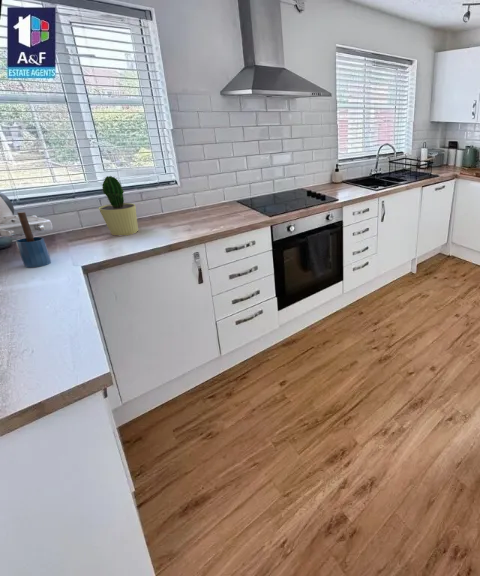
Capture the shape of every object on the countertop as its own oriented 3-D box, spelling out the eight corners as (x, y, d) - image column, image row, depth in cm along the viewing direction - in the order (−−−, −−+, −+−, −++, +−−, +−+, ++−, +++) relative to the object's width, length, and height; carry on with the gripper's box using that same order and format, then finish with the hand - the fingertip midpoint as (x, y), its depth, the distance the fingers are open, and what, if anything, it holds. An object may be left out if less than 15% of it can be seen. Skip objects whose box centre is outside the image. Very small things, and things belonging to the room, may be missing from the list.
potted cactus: (105, 234, 191) (86, 174, 178) (139, 228, 200) (123, 171, 187) (109, 241, 181) (89, 178, 168) (145, 235, 190) (129, 175, 177)
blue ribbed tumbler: (22, 268, 141) (13, 243, 138) (26, 262, 148) (18, 238, 144) (49, 265, 145) (41, 241, 142) (52, 260, 152) (45, 236, 148)
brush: (30, 264, 144) (12, 213, 136) (32, 261, 147) (15, 211, 139) (43, 263, 146) (27, 212, 138) (45, 260, 149) (29, 211, 141)
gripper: (-29, 222, 137) (-12, 227, 131) (39, 214, 154) (56, 218, 148) (-22, 239, 139) (-6, 244, 134) (44, 229, 156) (61, 234, 151)
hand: (27, 231), depth 141 cm, fingers open, 8 cm apart
